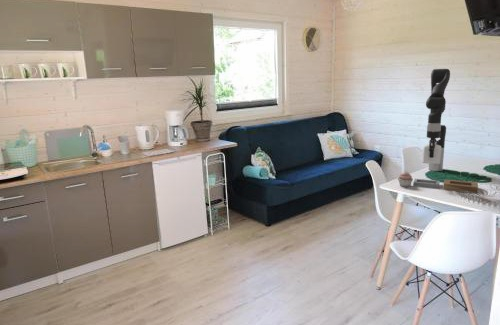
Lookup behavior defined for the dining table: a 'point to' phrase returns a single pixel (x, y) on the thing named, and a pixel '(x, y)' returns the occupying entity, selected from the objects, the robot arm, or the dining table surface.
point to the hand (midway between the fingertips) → (431, 156)
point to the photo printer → (436, 157)
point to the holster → (426, 183)
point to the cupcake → (405, 179)
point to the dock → (460, 185)
